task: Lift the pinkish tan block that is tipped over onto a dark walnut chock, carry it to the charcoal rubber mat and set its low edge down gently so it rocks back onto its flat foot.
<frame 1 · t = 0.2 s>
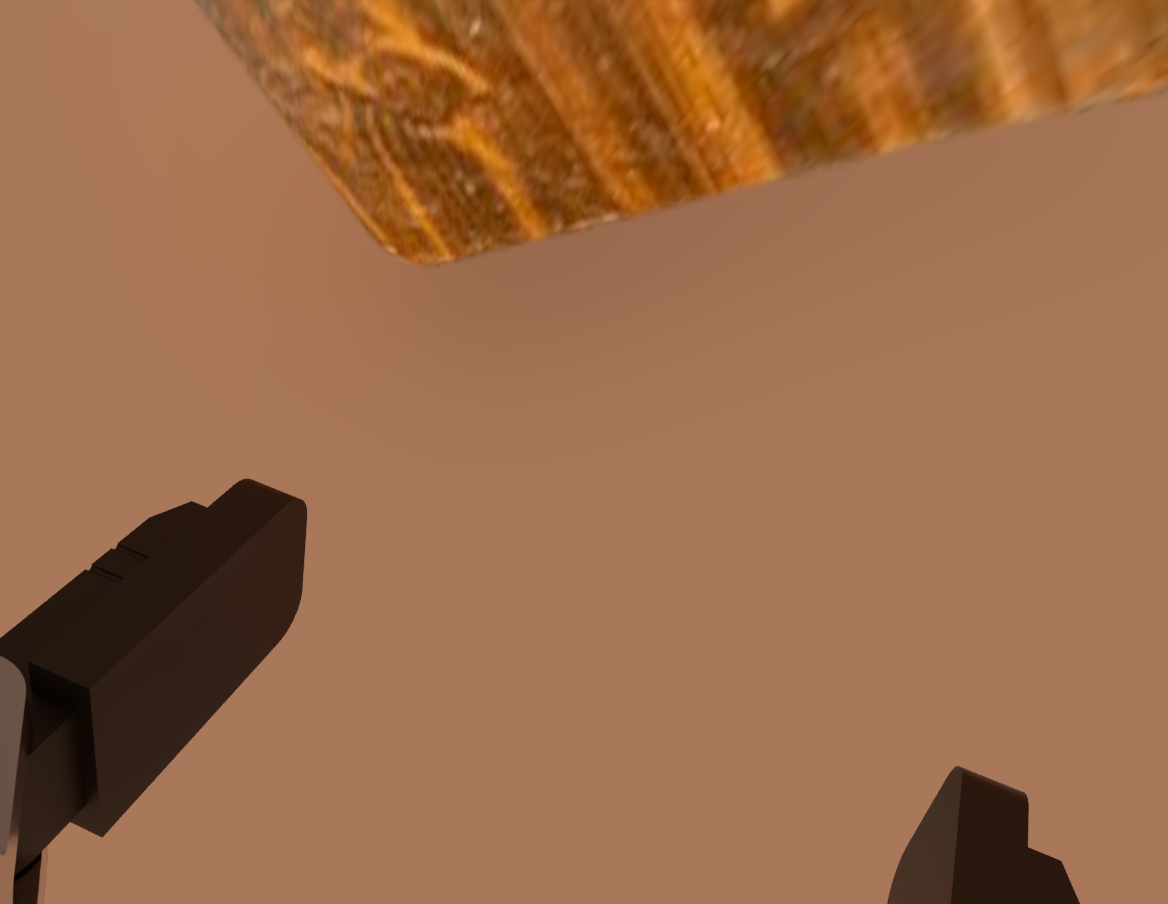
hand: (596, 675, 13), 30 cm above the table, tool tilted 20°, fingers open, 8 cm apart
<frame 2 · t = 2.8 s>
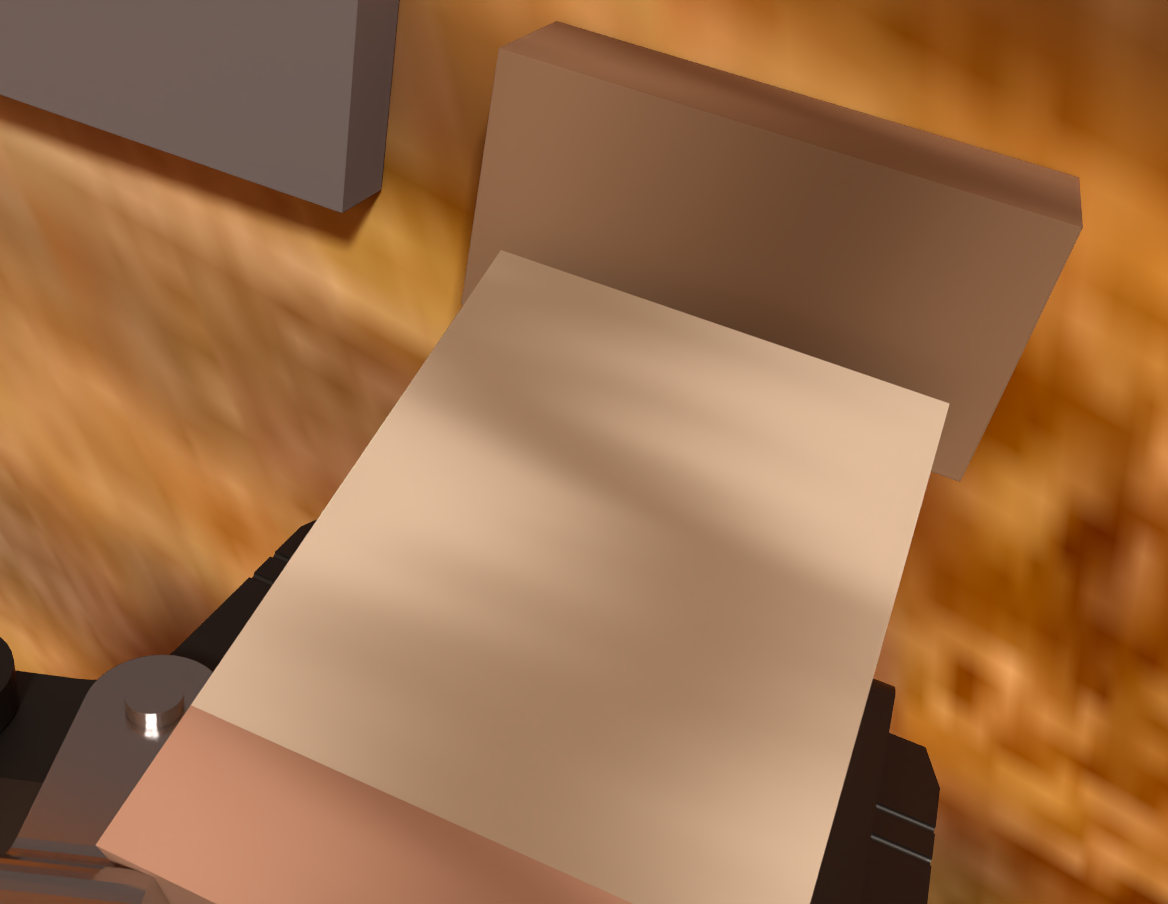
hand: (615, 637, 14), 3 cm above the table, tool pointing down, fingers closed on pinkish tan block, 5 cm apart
pinkish tan block: (652, 600, 17), on the table, touching gripper
walnut chock: (767, 221, 13), on the table
when the fingers open (5 cm above the table, at t = 10.7 s): pinkish tan block stays where it is, resting on charcoal mat.
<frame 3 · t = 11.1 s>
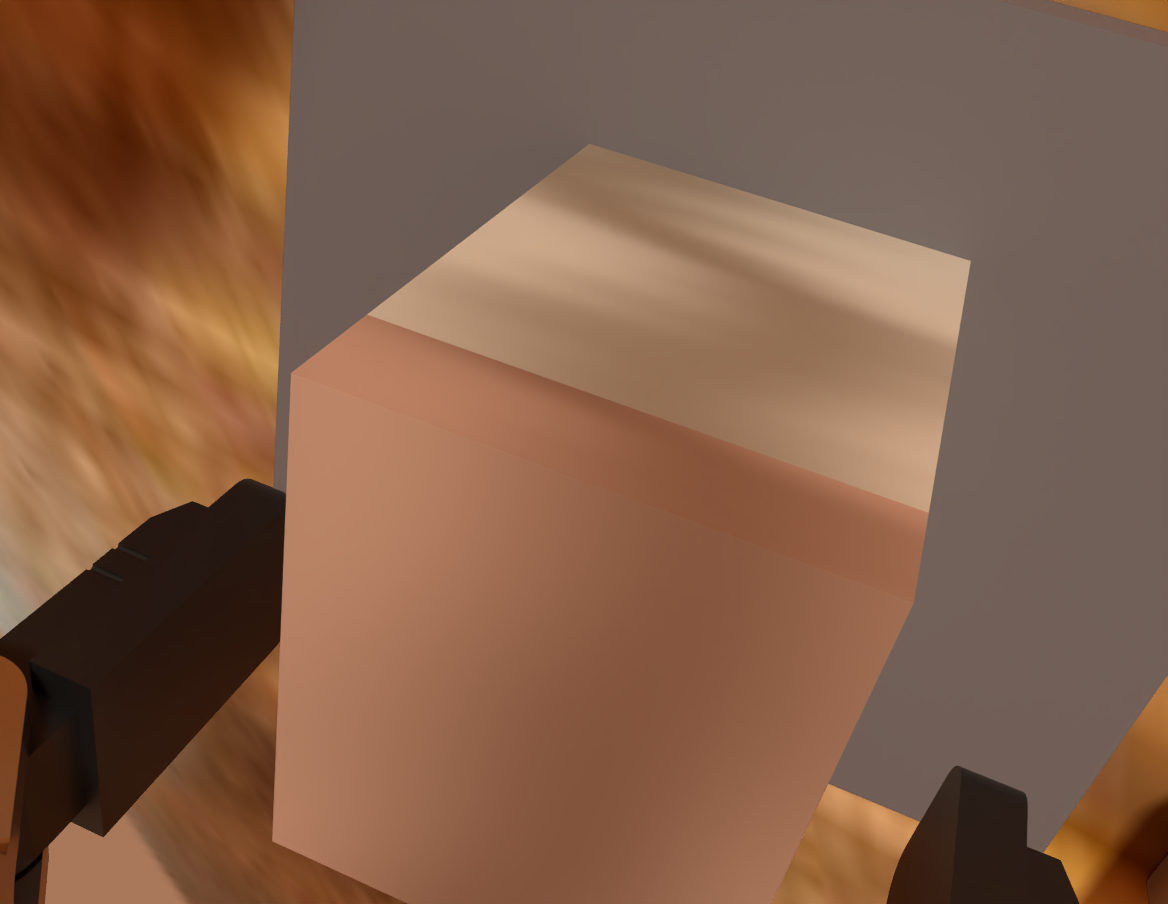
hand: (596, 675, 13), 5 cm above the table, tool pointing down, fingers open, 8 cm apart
pinkish tan block: (666, 561, 17), point 1 cm above the table, tilted 19°, touching charcoal mat
charcoal mat: (732, 379, 16), on the table
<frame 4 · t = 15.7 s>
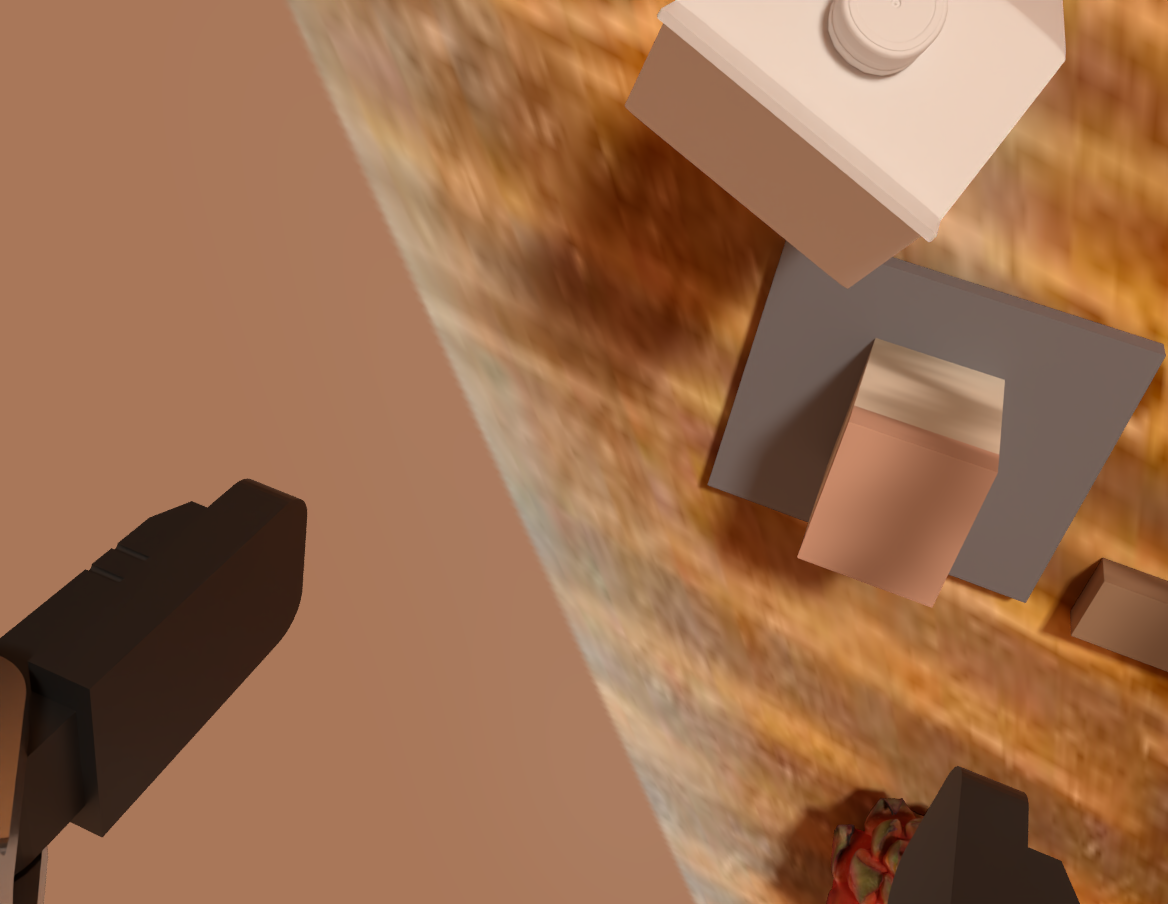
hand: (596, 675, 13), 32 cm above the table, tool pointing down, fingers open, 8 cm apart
pinkish tan block: (886, 483, 46), point 1 cm above the table, tilted 19°, touching charcoal mat
dragon fruit: (925, 847, 56), on the table
charcoal mat: (914, 415, 45), on the table
walnut chock: (1160, 612, 45), on the table
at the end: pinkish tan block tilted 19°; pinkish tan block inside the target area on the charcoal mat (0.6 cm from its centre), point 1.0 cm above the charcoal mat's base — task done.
